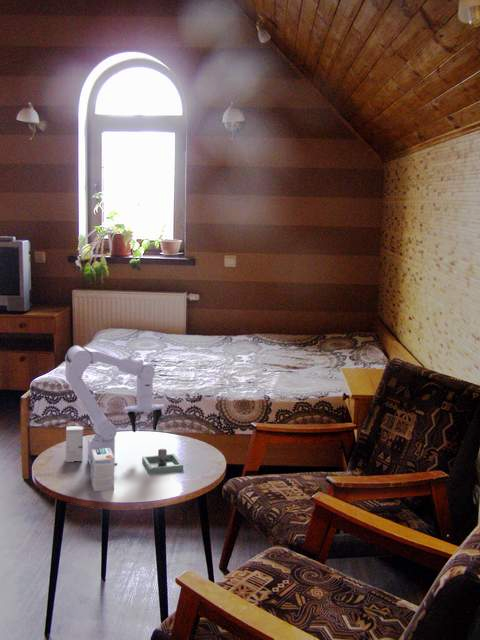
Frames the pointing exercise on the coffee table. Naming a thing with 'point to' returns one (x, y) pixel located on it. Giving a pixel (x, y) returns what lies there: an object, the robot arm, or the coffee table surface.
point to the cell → (162, 457)
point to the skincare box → (74, 443)
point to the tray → (162, 468)
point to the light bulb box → (102, 469)
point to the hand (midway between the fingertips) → (144, 430)
